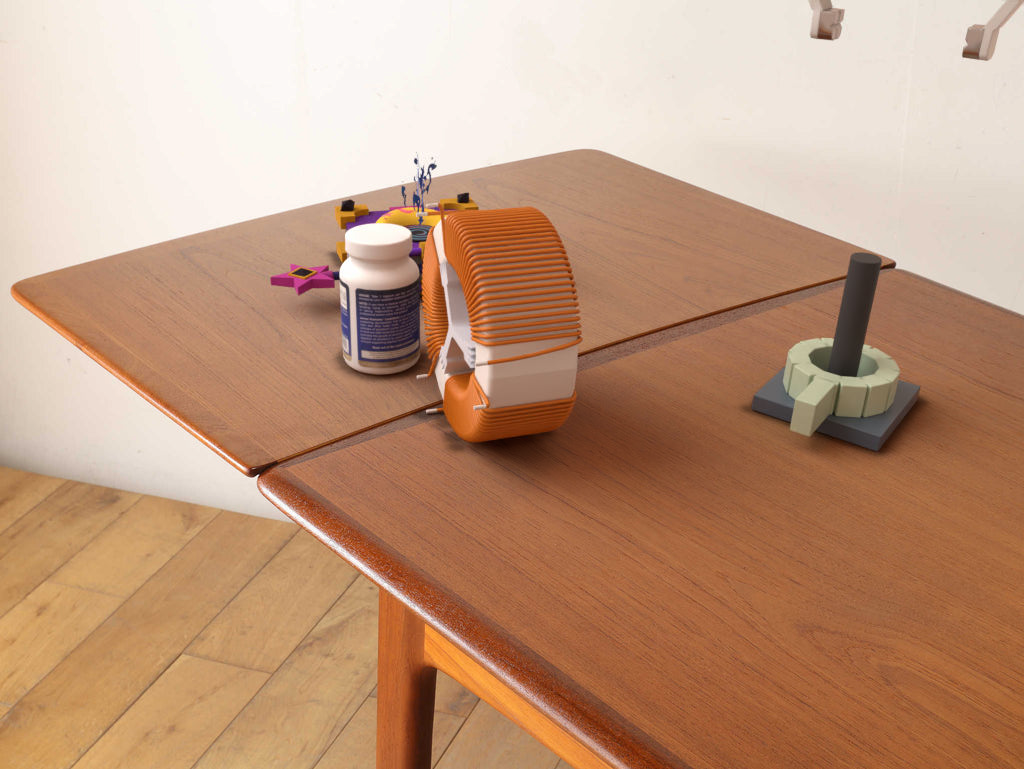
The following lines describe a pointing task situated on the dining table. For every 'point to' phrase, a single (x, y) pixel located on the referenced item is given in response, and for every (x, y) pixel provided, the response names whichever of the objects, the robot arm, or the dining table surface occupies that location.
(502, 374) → the coil
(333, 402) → the dining table surface
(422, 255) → the purple yellow toy
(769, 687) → the dining table surface
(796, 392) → the tabbed ring on plate
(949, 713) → the dining table surface
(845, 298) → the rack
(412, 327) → the pill bottle
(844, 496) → the dining table surface
